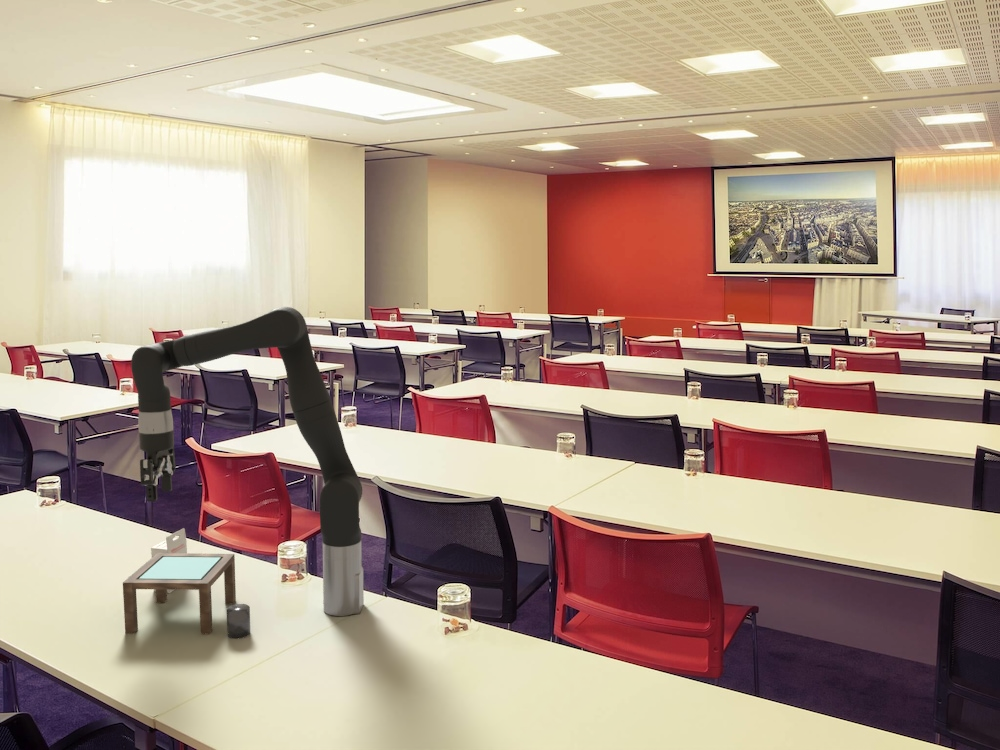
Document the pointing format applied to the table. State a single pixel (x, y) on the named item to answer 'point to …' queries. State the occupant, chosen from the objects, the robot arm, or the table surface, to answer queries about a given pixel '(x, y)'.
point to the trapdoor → (181, 568)
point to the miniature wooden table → (180, 588)
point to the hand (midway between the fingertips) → (159, 496)
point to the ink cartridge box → (171, 546)
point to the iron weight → (238, 621)
